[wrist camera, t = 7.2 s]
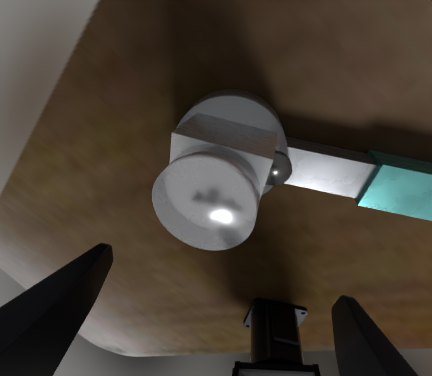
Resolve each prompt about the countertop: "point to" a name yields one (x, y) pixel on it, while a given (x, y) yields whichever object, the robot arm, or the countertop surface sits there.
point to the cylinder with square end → (213, 181)
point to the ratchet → (328, 160)
